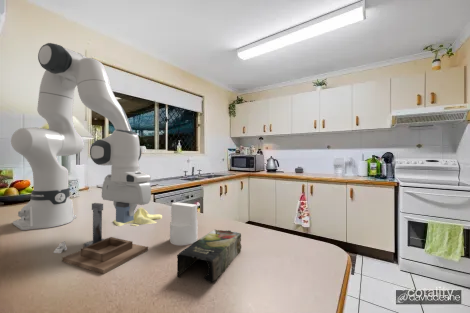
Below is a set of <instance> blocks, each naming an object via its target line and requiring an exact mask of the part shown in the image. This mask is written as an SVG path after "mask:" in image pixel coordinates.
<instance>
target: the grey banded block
mask: <svg viewBox="0 0 470 313" xmlns="http://www.w3.org/2000/svg"><path fill="white" fill-rule="evenodd" d="M129 209H130V206H129V203H123V202H118V203H116V209H115V220H116V222H120V223H126V222H129V221H132V220H134V215H133V216H127V211H129Z"/></svg>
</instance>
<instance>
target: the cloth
mask: <svg viewBox="0 0 470 313" xmlns="http://www.w3.org/2000/svg"><path fill="white" fill-rule="evenodd" d="M162 219H163V215H162V214H158V213H156V214H150V213H149V212H148V211H147V210H146V209H145V208H144V207H142V206H141V207H138V208H136V211H134V220H132V221H129V222H126V223H120V222H116V219H114V220H113V221H112V222H113V223H114V225H115V226H117V227H122V226H124V225H128V224H129V225H130V226H131V227H139V226H140V225H151V224H152V225H153V224H157V223H158V222H157V221H155V220H162Z"/></svg>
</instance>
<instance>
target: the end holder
mask: <svg viewBox="0 0 470 313" xmlns="http://www.w3.org/2000/svg"><path fill="white" fill-rule="evenodd" d="M104 239H105V240H102V241H99V242H97V243H94V244H91V245H89V246H86V247H85V246H83V247H81V248H80V250H78V251H76V252H73V253H70V254H68V255H65V256H62V258H61V262H63V263H67V264H69V265H73V266H75V267H79V268H83V269H86V270H89V271H92V272H95V273H99V274H102V275H104V274H106V273H108V272H111V271H112V270H115V269H116V268H118V267H119V266H121V265H123V264H125V263H127V262H129V261H131V260H133V259H134V258H137V257H139V256H140V255H143V254H144V253H146V252H148V250H149V246H145V245H140V244H135V243H133V241H132V240H128V239H127V240H126V239H121V238H118V237H117V238H116V237H112V236H110V237H107V238H104Z"/></svg>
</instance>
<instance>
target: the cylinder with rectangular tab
mask: <svg viewBox="0 0 470 313" xmlns="http://www.w3.org/2000/svg"><path fill="white" fill-rule="evenodd" d="M170 207H171V208H170V209H171V210H170V214H171V216H170V217H171V219H170V220H171V221H170V223H169V226H170V227H169V242H170V244H172V245H174V246H188V245H189V246H190V245H192V244H193V243H194V242H196V241H197V240H198V226H199V224H198V204H194V203H186V202H179V201H177V202H172V203H171V206H170Z"/></svg>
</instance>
